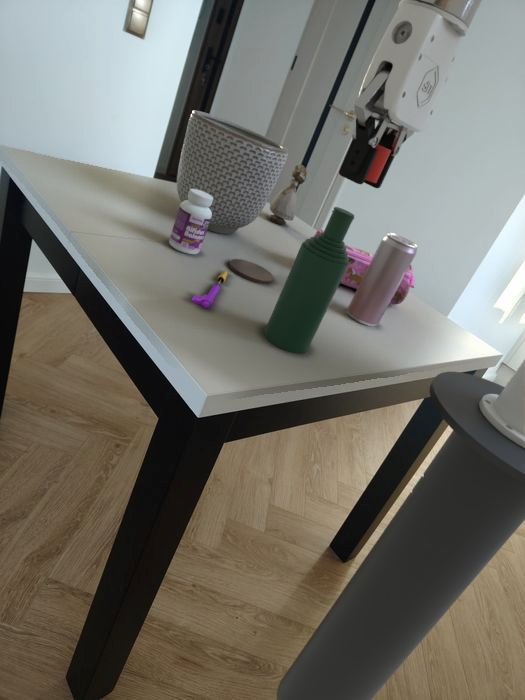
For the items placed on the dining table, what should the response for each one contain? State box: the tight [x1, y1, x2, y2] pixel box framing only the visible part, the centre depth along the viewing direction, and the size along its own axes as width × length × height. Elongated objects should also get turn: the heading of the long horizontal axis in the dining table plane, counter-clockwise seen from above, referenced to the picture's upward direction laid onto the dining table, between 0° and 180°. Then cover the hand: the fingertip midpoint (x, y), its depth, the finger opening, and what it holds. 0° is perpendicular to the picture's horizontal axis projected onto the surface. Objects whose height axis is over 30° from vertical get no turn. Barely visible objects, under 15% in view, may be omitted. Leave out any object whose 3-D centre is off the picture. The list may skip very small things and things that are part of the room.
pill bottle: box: [168, 189, 213, 255], centre depth 83 cm, size 5×5×10 cm
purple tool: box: [191, 270, 228, 309], centre depth 75 cm, size 3×1×16 cm
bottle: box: [263, 206, 355, 354], centre depth 65 cm, size 6×6×18 cm
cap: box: [365, 144, 391, 183], centre depth 58 cm, size 4×4×4 cm
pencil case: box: [313, 229, 416, 306], centre depth 100 cm, size 21×9×9 cm, turn 89°
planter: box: [176, 109, 290, 235], centre depth 100 cm, size 20×20×19 cm
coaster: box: [229, 258, 275, 285], centre depth 87 cm, size 8×8×1 cm
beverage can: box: [347, 231, 419, 327], centre depth 86 cm, size 6×6×15 cm
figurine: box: [269, 163, 308, 226], centre depth 127 cm, size 8×7×15 cm
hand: (359, 180), depth 59 cm, fingers closed on cap, 3 cm apart
